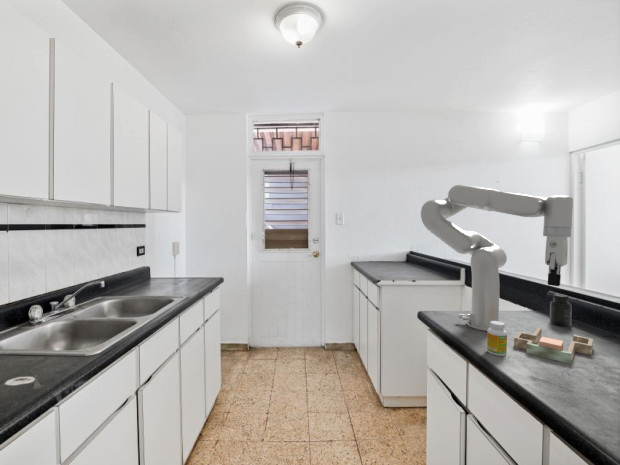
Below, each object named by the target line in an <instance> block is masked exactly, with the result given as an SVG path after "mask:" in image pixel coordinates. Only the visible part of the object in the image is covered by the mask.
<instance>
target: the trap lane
mask: <svg viewBox="0 0 620 465" xmlns="http://www.w3.org/2000/svg"><path fill="white" fill-rule="evenodd" d="M542 330H543V329H542V327H540V326H538V327H537V328H536V330H535V331H534V333H528V332H524V331H518V332H517V334H515V336H514V339H513V347H515V348H518V349H519V348H520V349H523V350H526V354H530V355H534V356H538V357H543V358H546V359H549V360H554V361H559V362H562V363H566V364H569V365H571V364H572V362H573V359H574V355H575V353H579V354H583V355H589V356H592V354H593V348H594V338H590V337H584V336H580V335H578V334H575V333H574V334H573V335H572V340H570V344H569V346H568V349H567V351H565V350H563V351H561V350H557V349H553V348H548V347H544V346H540V345H539V344H537V343H539V340H540V339H541V337H542Z"/></svg>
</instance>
